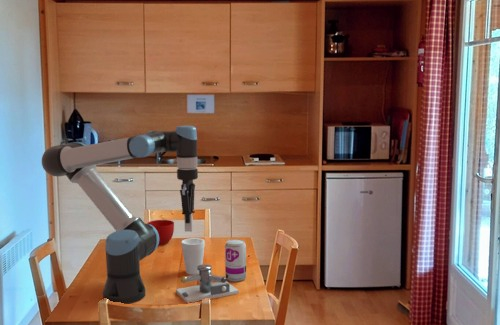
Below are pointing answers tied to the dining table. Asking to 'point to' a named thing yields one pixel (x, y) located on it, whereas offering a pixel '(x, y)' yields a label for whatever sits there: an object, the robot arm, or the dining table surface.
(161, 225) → the ceramic cup
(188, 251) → the foam cup
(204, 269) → the capstan
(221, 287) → the stand
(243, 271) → the supplement can
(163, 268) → the dining table surface
